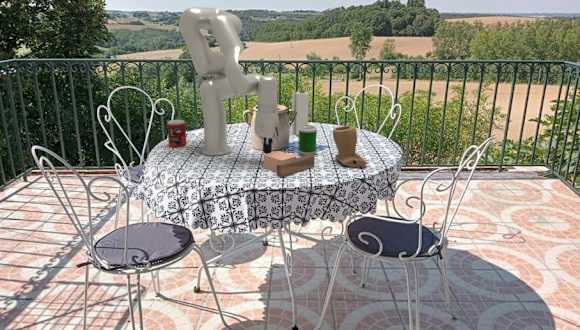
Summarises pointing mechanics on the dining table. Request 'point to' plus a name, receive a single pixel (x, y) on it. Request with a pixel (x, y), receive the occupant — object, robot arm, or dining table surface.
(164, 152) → the dining table surface
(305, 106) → the paper towel roll
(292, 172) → the board
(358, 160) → the tan boot-shaped piece
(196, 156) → the dining table surface
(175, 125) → the canned food
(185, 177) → the dining table surface
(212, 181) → the dining table surface
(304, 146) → the soda can
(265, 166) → the brick
